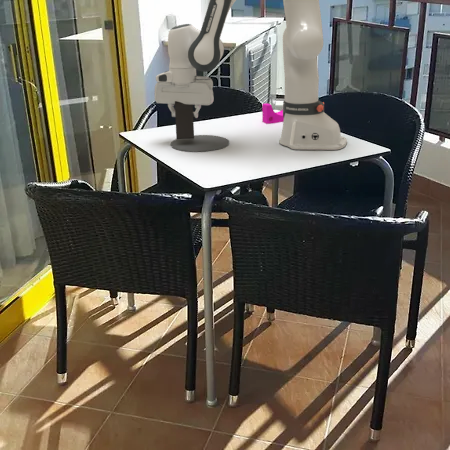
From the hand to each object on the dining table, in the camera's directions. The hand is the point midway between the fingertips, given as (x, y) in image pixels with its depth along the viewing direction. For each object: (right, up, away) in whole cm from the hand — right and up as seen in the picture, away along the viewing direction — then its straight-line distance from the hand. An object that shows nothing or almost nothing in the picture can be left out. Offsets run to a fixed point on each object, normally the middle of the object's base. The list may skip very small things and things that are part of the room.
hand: (184, 117), depth 216 cm
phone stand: (0, -6, +2) cm, 7 cm away
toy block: (+35, +3, +30) cm, 46 cm away
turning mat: (+5, -9, +2) cm, 10 cm away
